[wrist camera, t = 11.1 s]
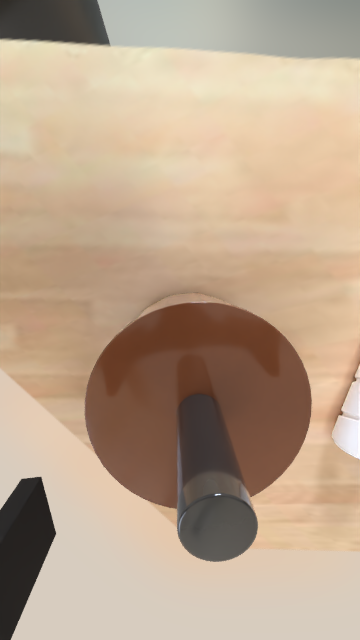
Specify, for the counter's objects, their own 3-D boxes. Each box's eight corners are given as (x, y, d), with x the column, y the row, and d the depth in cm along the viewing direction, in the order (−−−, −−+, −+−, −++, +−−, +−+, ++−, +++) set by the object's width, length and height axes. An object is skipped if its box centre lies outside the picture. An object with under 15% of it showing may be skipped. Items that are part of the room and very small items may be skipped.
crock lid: (71, 313, 17) (-36, 365, 8) (299, 285, 17) (429, 308, 8) (109, 506, 19) (59, 696, 11) (306, 483, 19) (409, 654, 11)
